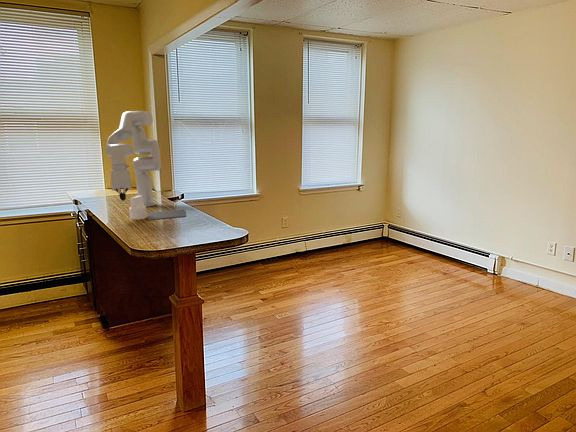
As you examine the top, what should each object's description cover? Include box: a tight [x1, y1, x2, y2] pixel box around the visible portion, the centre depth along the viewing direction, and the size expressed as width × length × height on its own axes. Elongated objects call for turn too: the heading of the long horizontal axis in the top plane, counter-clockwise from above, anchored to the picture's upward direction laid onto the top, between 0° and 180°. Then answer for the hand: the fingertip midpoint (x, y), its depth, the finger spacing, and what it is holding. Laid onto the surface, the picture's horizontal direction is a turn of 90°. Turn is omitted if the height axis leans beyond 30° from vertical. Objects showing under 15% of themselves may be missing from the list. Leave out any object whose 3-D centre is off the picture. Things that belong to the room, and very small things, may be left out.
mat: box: [147, 209, 186, 221], centre depth 247 cm, size 20×20×1 cm
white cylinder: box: [128, 195, 148, 220], centre depth 242 cm, size 9×9×12 cm
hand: (123, 200), depth 239 cm, fingers closed
